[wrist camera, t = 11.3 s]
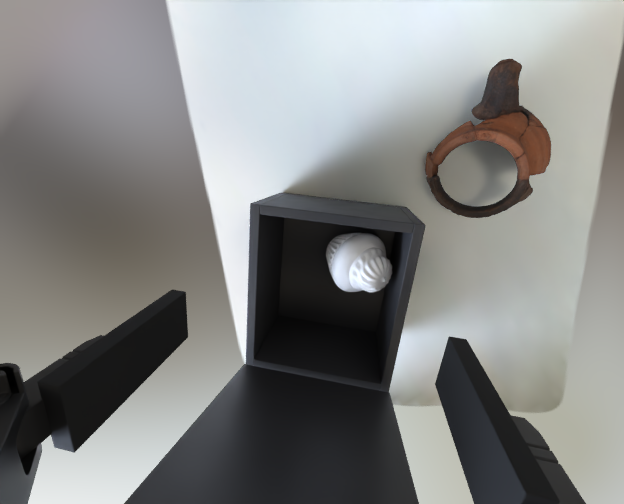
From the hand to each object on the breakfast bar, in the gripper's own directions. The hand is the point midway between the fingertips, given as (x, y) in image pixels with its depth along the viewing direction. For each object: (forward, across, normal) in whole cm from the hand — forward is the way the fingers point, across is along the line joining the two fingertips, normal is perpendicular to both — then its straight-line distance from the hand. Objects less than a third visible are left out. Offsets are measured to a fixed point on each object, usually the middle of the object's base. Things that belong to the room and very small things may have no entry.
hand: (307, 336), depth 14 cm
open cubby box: (+19, 0, -4) cm, 19 cm away
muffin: (+17, 0, 0) cm, 17 cm away
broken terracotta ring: (+20, +12, +11) cm, 25 cm away
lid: (+1, 0, -9) cm, 9 cm away
